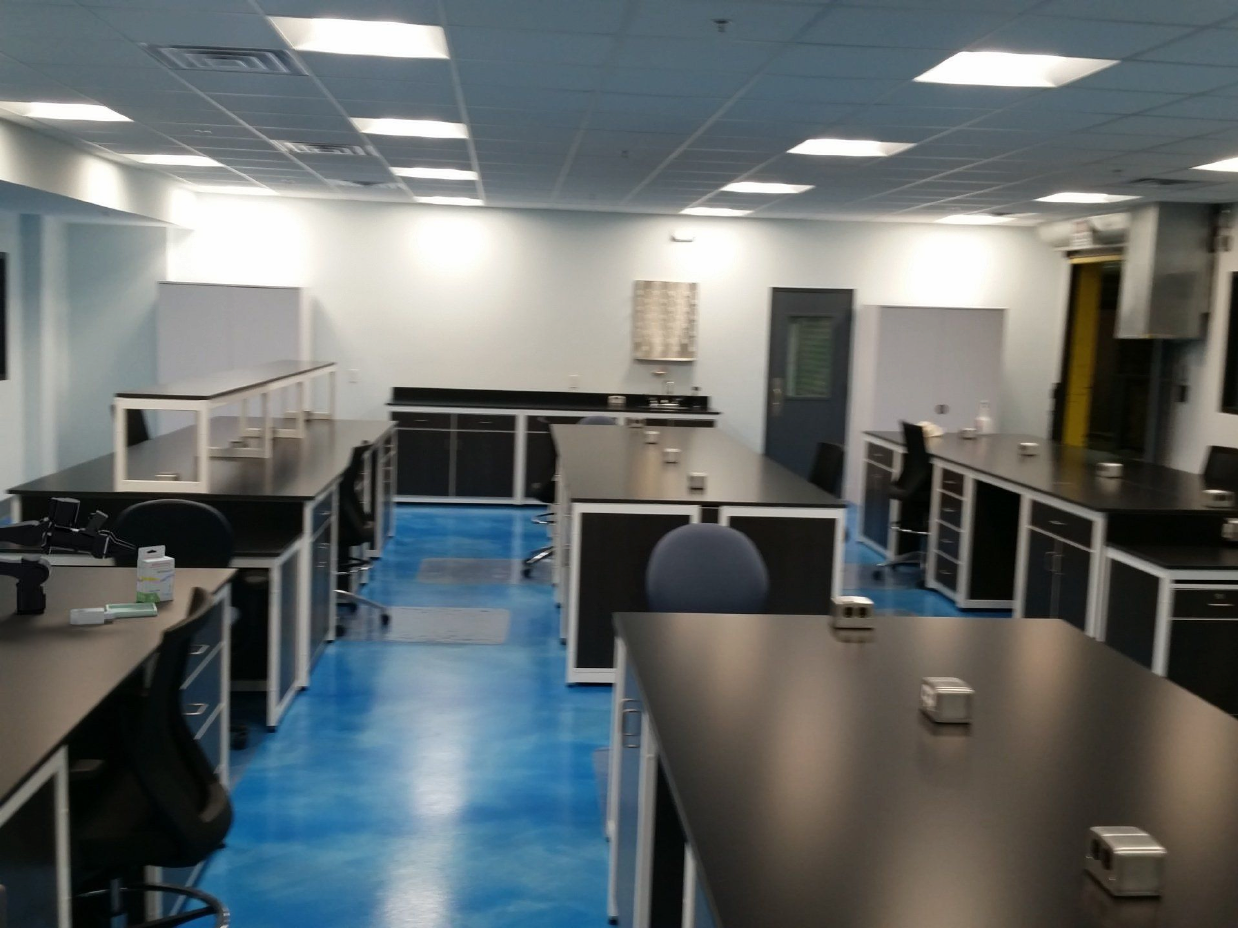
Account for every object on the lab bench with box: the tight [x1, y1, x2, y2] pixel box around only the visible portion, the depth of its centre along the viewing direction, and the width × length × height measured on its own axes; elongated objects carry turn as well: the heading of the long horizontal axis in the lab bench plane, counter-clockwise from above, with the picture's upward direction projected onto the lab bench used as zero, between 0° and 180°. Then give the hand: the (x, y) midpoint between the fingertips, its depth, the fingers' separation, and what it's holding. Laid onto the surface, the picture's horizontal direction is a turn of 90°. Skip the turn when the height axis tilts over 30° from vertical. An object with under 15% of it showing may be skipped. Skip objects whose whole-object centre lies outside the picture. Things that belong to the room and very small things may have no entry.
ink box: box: [136, 545, 175, 603], centre depth 326 cm, size 9×5×15 cm, turn 143°
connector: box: [69, 607, 115, 626], centre depth 300 cm, size 10×4×3 cm, turn 116°
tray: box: [105, 602, 158, 619], centre depth 312 cm, size 12×9×1 cm
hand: (135, 549), depth 314 cm, fingers open, 9 cm apart
